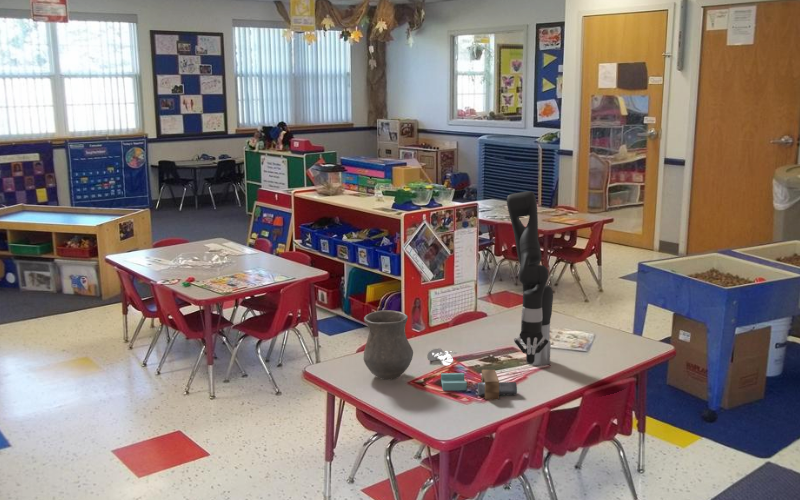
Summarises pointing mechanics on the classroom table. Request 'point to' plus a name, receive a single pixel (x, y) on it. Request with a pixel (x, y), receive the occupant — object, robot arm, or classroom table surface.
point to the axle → (500, 388)
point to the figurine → (440, 356)
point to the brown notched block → (490, 384)
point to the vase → (387, 344)
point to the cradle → (453, 381)
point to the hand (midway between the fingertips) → (530, 363)
